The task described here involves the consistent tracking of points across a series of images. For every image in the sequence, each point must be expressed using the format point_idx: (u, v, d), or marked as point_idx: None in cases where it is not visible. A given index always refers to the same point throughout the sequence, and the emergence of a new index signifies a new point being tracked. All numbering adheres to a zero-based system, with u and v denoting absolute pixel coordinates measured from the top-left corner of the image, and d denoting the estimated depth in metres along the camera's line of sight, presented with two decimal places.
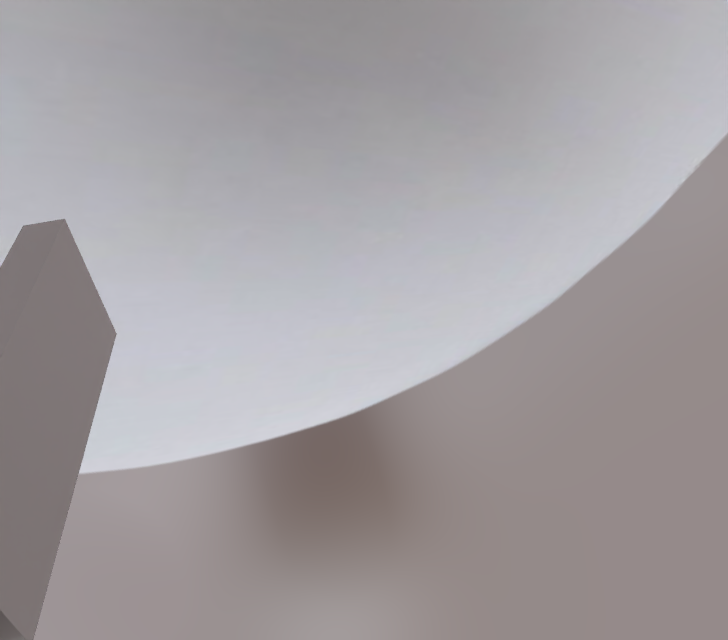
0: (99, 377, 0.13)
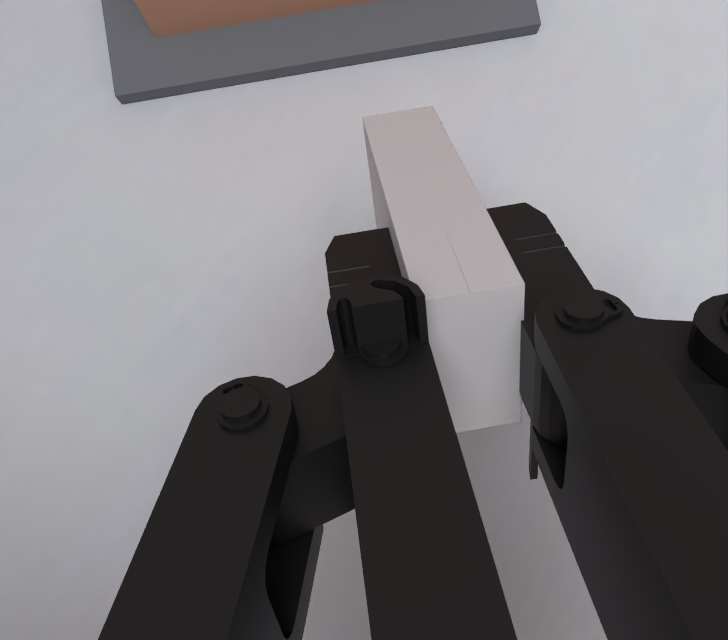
0: None
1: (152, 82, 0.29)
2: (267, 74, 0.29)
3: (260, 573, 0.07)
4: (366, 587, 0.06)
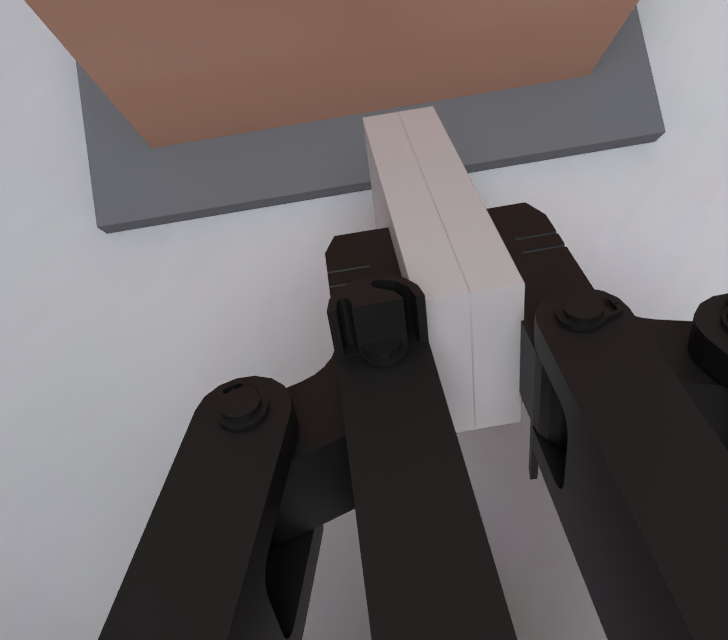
0: None
1: (147, 209, 0.22)
2: (300, 196, 0.22)
3: (260, 573, 0.07)
4: (366, 587, 0.06)
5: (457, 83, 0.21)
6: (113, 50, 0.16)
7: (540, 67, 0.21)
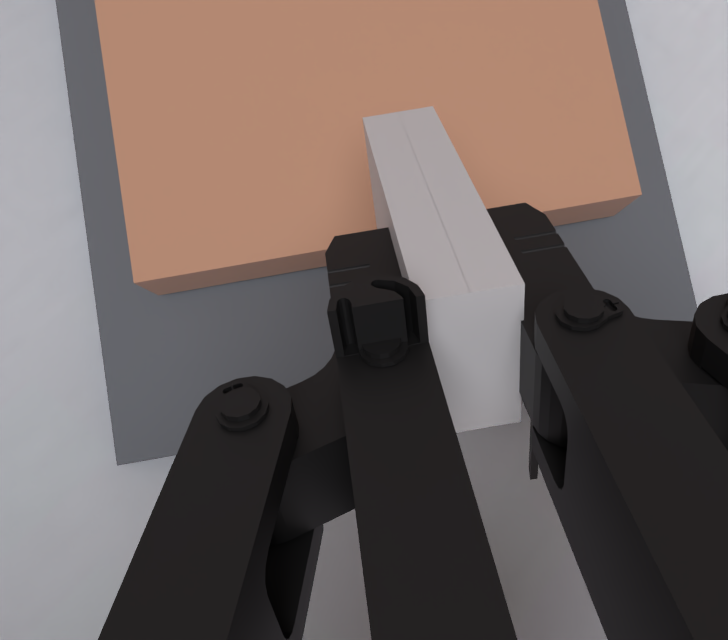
0: None
1: (169, 446, 0.21)
2: None
3: (260, 574, 0.07)
4: (366, 587, 0.06)
5: (478, 187, 0.19)
6: (139, 75, 0.19)
7: (566, 164, 0.19)
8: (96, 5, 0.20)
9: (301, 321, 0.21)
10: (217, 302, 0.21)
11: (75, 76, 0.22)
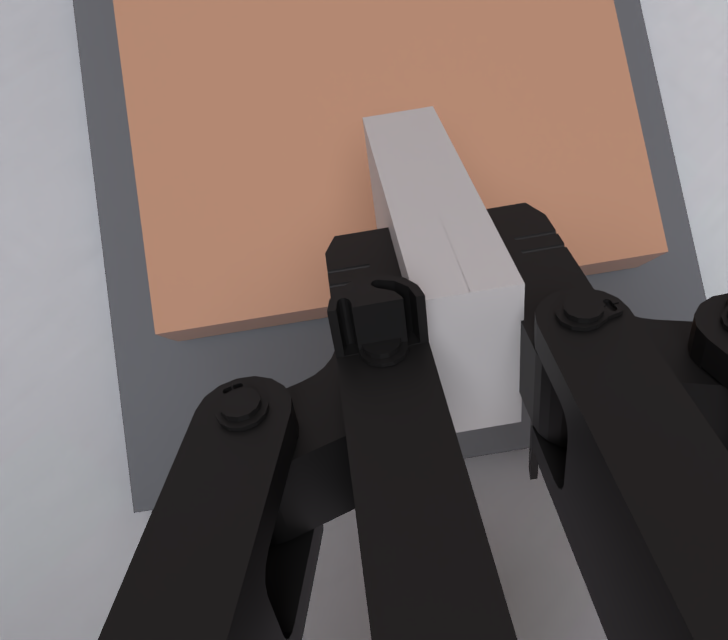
0: None
1: None
2: None
3: (260, 573, 0.07)
4: (366, 587, 0.06)
5: None
6: (162, 123, 0.19)
7: (592, 219, 0.19)
8: (120, 51, 0.19)
9: None
10: (236, 348, 0.21)
11: (95, 117, 0.22)
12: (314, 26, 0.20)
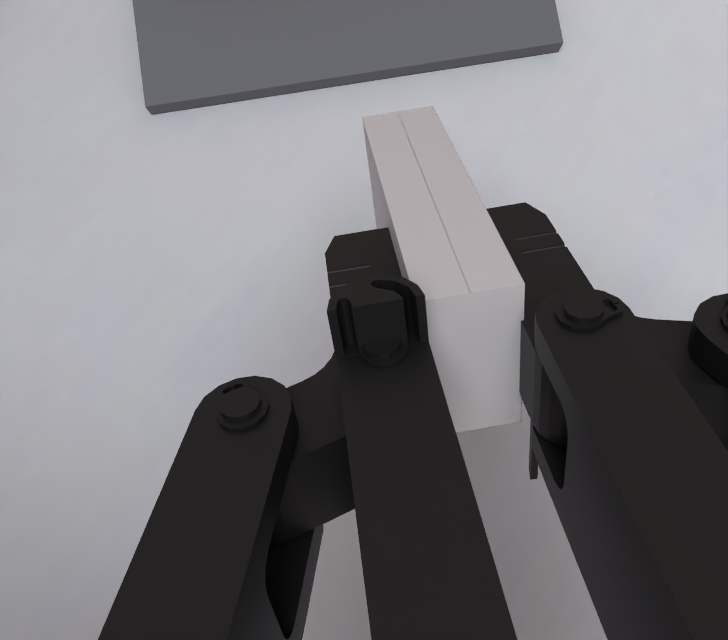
0: None
1: (182, 94, 0.29)
2: (294, 87, 0.30)
3: (260, 573, 0.07)
4: (366, 587, 0.06)
5: None
6: None
7: None
8: None
9: (276, 13, 0.30)
10: None
11: None
12: None
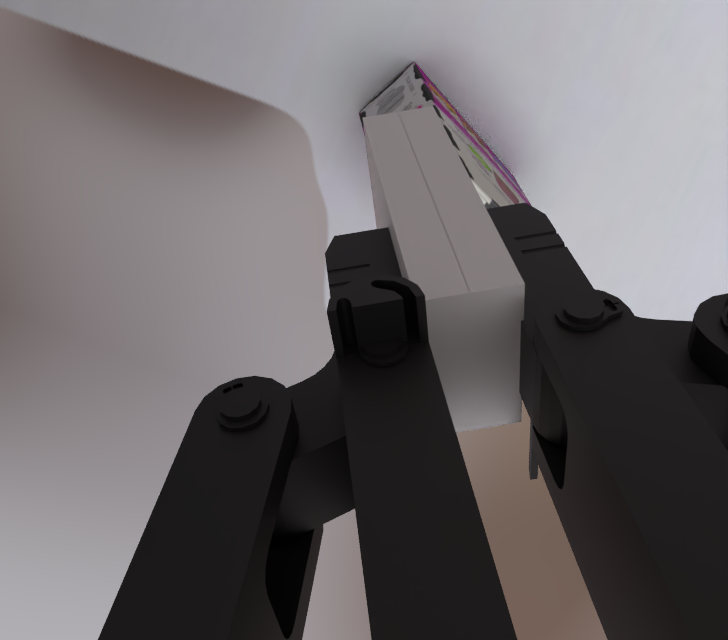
0: None
1: None
2: None
3: (260, 573, 0.07)
4: (366, 587, 0.06)
5: None
6: None
7: None
8: None
9: None
10: None
11: None
12: None
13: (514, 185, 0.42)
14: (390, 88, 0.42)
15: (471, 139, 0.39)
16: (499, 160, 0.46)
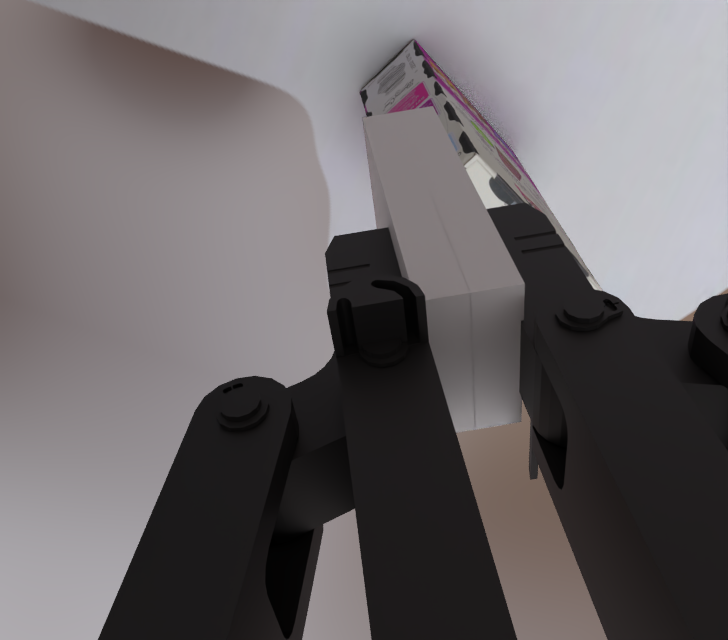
0: None
1: None
2: None
3: (260, 573, 0.07)
4: (366, 587, 0.06)
5: None
6: None
7: None
8: None
9: None
10: None
11: None
12: None
13: (515, 161, 0.43)
14: (390, 66, 0.42)
15: (472, 115, 0.39)
16: (499, 136, 0.46)
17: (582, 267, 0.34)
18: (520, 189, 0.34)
